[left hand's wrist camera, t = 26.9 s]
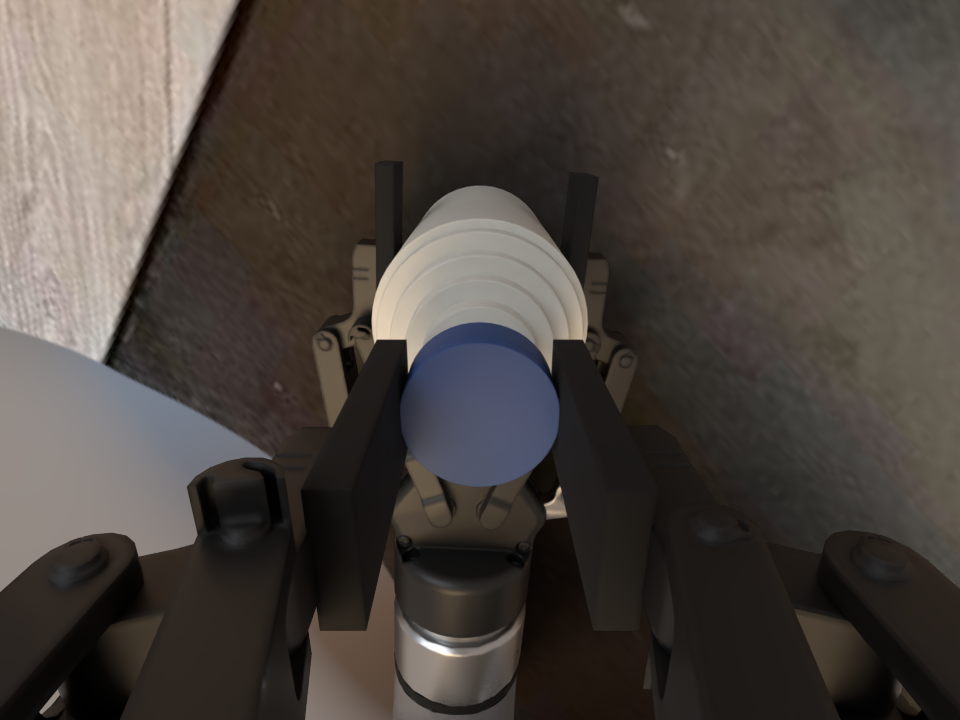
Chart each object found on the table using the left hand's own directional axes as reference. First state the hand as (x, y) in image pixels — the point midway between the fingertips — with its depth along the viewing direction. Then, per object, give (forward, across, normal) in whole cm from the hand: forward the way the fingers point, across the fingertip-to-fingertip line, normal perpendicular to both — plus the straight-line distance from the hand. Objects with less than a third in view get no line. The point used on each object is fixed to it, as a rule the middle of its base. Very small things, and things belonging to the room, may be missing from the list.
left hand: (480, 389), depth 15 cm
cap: (-1, 0, 0) cm, 1 cm away
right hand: (+12, 0, -5) cm, 13 cm away
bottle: (+18, 0, 0) cm, 18 cm away
